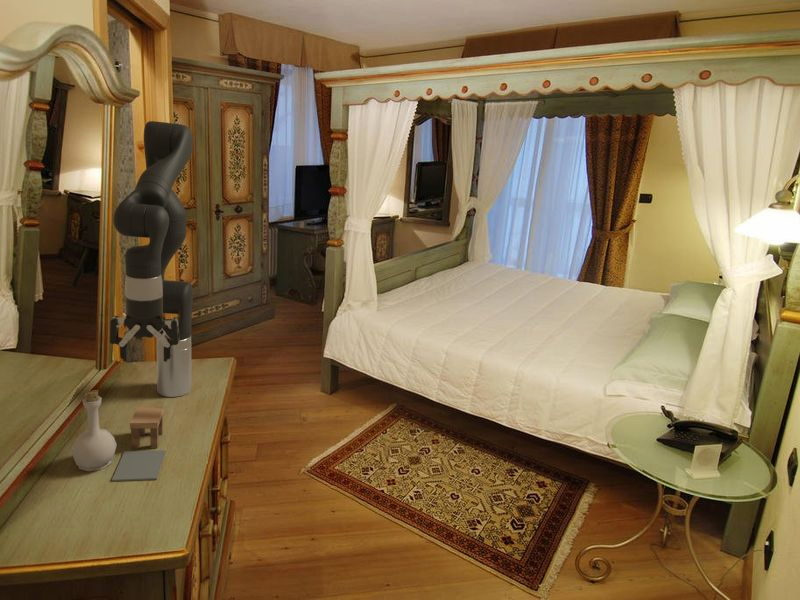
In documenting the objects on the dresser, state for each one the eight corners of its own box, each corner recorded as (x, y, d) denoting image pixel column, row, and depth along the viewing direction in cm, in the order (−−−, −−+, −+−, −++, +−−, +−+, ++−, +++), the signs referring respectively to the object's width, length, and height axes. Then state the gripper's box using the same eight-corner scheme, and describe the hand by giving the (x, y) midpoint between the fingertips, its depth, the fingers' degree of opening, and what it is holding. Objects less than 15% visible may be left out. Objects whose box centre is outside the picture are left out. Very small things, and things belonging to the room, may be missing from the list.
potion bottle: (98, 477, 117) (94, 403, 112) (63, 468, 119) (57, 395, 114) (126, 456, 126) (123, 386, 120) (92, 448, 127) (89, 378, 122)
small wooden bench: (138, 431, 136) (137, 406, 134) (163, 431, 137) (163, 406, 135) (130, 449, 128) (129, 423, 126) (157, 448, 130) (157, 422, 128)
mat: (124, 452, 127) (124, 451, 127) (165, 451, 129) (165, 450, 129) (111, 481, 116) (111, 479, 116) (156, 479, 119) (156, 478, 119)
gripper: (181, 290, 125) (181, 353, 130) (113, 287, 121) (116, 353, 126) (176, 300, 118) (176, 367, 123) (104, 298, 114) (107, 367, 119)
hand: (146, 360), depth 125 cm, fingers open, 8 cm apart
